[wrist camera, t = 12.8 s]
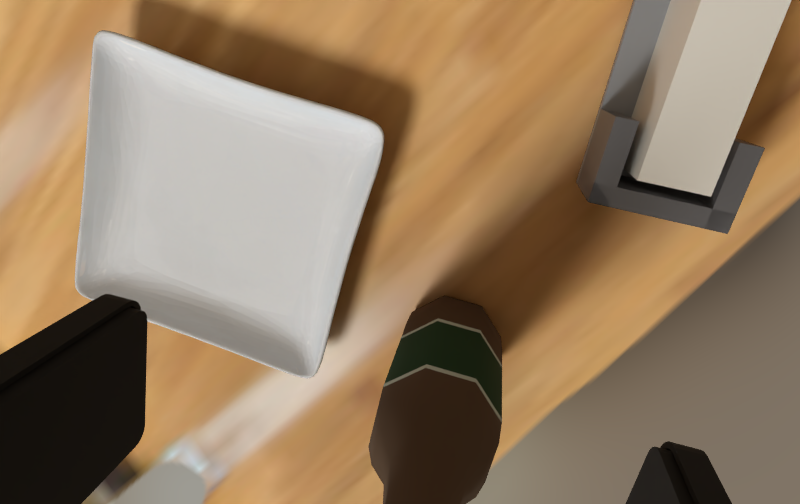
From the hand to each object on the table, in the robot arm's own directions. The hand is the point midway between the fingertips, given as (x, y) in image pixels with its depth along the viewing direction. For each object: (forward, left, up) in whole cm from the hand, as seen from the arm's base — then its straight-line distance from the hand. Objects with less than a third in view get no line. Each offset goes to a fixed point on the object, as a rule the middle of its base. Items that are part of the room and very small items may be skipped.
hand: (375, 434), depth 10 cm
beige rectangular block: (-10, +11, -30) cm, 33 cm away
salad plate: (+8, -17, -31) cm, 36 cm away
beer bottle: (+14, +2, -31) cm, 34 cm away
